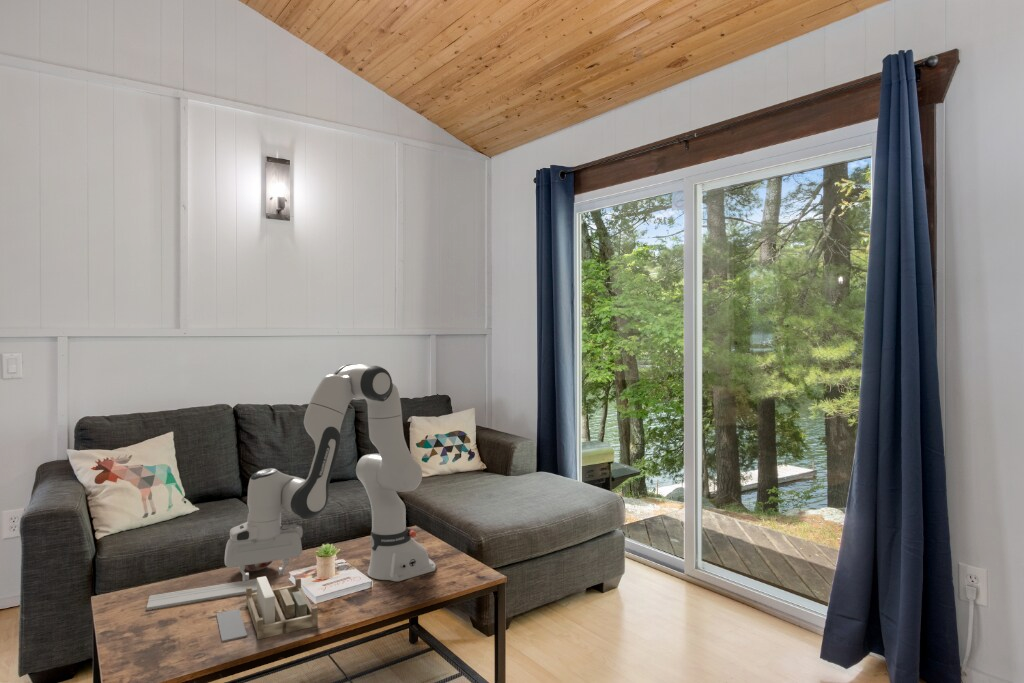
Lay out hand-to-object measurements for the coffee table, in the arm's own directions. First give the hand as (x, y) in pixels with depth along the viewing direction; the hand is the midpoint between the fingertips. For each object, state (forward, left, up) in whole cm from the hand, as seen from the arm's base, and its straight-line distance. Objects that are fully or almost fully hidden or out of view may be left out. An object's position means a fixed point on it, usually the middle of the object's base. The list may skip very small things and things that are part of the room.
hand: (263, 577), depth 178 cm
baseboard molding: (+13, -27, -13) cm, 32 cm away
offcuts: (-8, -1, -12) cm, 14 cm away
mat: (+9, 0, -12) cm, 14 cm away
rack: (-4, 0, -12) cm, 12 cm away
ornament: (-3, -39, -12) cm, 40 cm away
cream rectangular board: (0, 0, -12) cm, 12 cm away
